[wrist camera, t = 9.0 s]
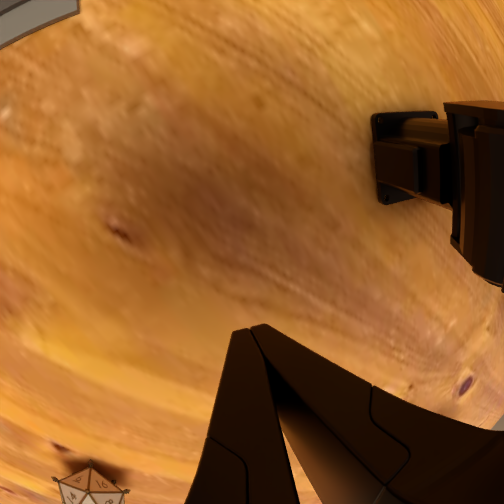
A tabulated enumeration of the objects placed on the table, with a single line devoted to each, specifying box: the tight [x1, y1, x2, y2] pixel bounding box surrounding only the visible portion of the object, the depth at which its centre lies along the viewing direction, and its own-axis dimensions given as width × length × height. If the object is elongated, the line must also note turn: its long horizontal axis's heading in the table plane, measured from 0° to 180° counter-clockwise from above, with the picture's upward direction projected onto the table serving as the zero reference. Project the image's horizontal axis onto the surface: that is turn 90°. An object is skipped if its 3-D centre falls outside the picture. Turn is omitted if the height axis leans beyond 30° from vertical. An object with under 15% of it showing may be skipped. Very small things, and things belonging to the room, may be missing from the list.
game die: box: [51, 460, 130, 504], centre depth 21 cm, size 9×8×10 cm
